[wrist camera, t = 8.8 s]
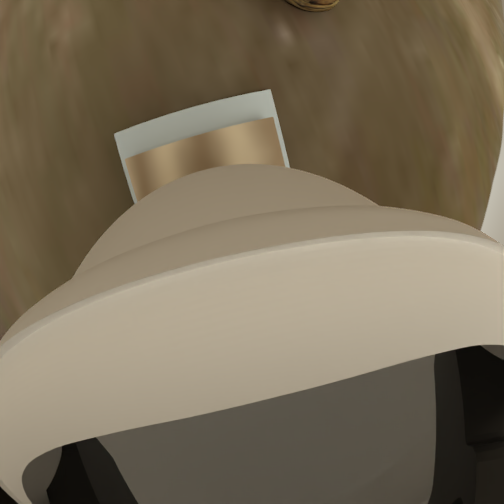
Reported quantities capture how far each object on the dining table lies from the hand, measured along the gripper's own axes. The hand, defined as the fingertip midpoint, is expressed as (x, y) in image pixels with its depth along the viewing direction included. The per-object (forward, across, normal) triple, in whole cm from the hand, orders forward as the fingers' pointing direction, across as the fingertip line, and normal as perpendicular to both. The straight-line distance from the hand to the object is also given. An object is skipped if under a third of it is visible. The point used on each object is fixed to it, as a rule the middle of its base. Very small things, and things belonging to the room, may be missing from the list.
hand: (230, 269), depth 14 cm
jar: (+3, 0, 0) cm, 3 cm away
